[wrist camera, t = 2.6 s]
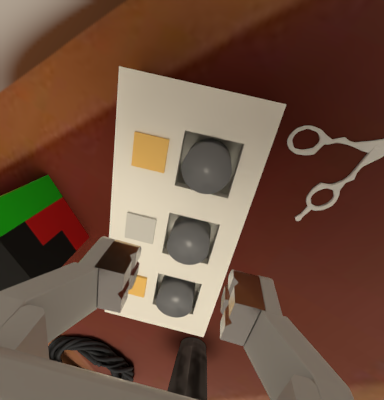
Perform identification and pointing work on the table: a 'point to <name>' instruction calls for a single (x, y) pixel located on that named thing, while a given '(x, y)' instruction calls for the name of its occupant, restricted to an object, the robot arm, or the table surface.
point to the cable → (92, 354)
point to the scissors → (374, 153)
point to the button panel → (182, 183)
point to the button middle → (189, 240)
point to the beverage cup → (190, 370)
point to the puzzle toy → (36, 232)
